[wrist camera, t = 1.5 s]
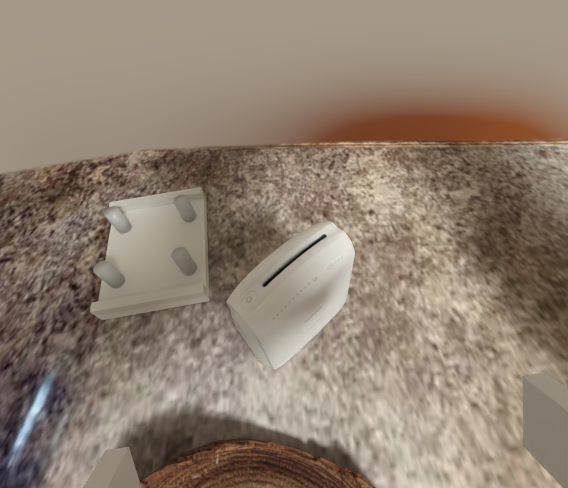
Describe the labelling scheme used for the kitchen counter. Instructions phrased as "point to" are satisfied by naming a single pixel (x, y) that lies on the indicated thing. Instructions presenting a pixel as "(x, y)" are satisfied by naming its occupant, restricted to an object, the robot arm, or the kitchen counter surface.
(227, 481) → the basket
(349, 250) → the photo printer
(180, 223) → the white pegged stand
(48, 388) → the kitchen counter surface
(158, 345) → the kitchen counter surface
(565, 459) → the robot arm
